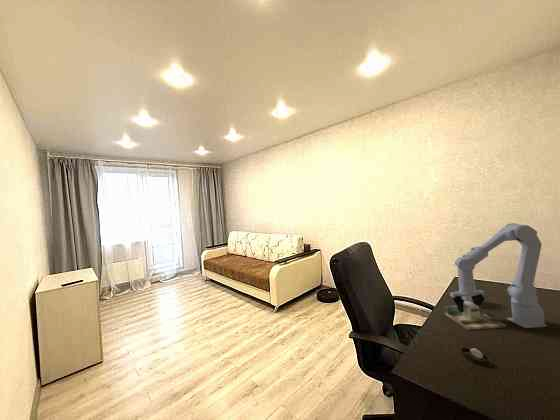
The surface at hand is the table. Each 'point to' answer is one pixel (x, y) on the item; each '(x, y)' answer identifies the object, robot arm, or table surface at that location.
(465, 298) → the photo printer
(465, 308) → the beige rectangular block
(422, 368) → the table surface
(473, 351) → the watch
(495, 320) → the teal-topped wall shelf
